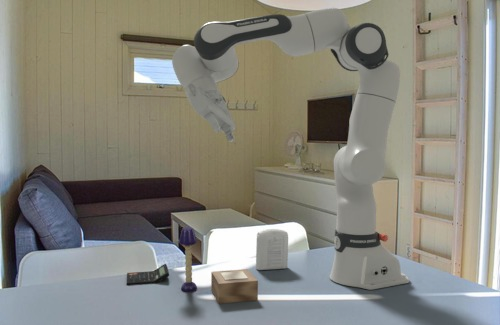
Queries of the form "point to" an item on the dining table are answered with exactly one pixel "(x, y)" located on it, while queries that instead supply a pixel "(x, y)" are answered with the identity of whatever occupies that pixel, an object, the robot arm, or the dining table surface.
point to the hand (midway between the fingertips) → (225, 135)
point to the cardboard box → (234, 286)
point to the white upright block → (272, 249)
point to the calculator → (148, 276)
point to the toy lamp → (188, 257)
